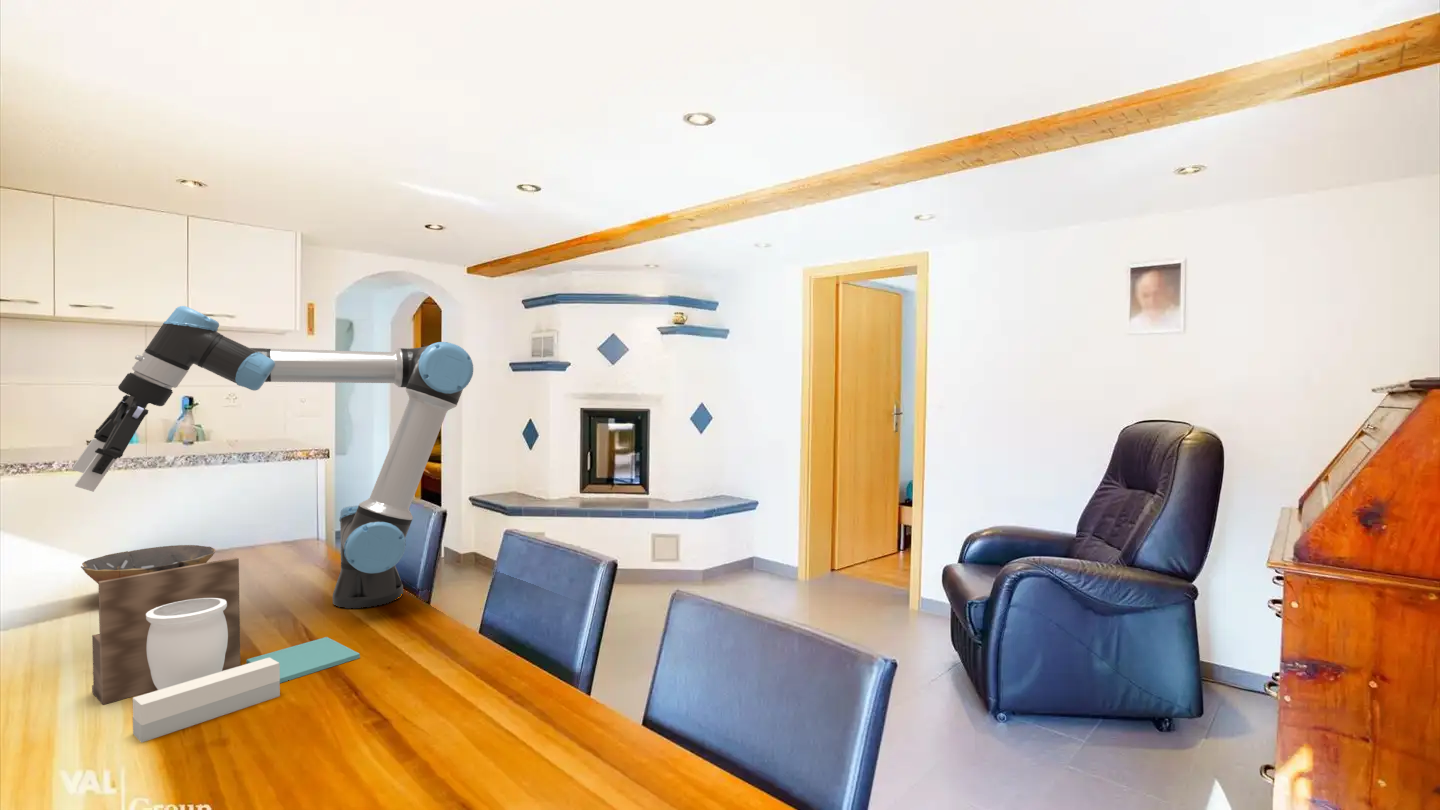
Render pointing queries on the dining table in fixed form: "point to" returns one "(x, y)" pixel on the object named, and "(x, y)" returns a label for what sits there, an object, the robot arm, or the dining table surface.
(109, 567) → the bowl
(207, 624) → the jar
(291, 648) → the mat
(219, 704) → the offcut low
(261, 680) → the offcut top
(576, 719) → the dining table surface
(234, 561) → the wood grain panel
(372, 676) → the dining table surface
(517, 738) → the dining table surface
